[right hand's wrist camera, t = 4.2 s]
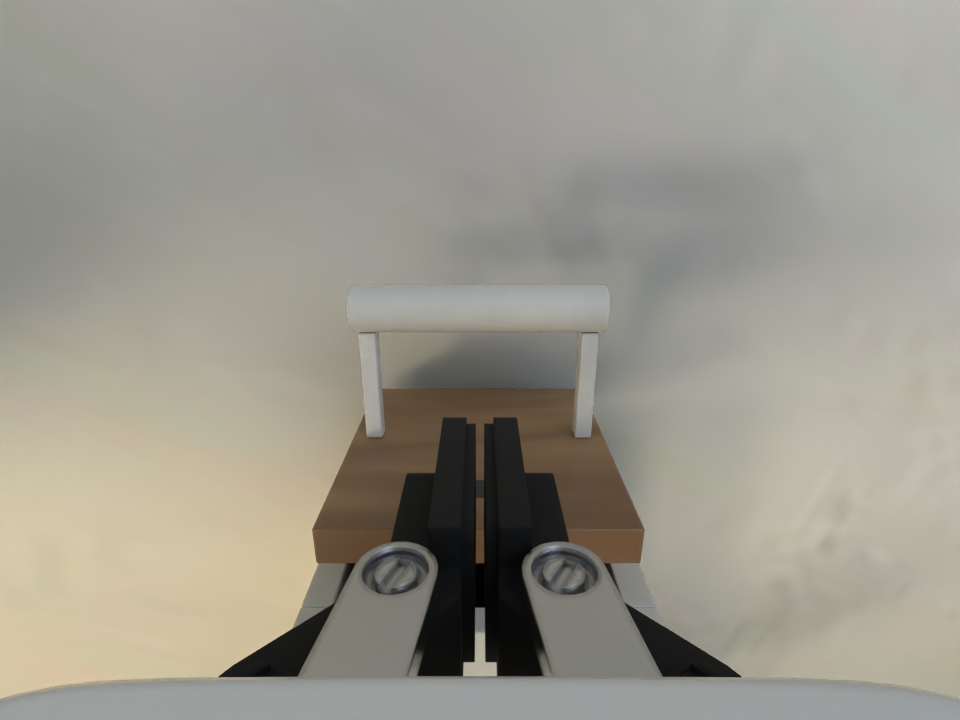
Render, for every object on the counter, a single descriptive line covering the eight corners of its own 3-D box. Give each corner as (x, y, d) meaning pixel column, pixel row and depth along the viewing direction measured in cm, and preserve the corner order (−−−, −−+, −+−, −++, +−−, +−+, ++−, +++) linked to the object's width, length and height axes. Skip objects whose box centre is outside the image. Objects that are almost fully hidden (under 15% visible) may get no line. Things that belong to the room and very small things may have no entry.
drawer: (366, 262, 22) (285, 335, 13) (591, 262, 22) (671, 335, 13) (395, 658, 30) (357, 880, 20) (562, 657, 30) (600, 880, 20)
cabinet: (370, 431, 26) (289, 633, 15) (587, 431, 26) (667, 633, 15) (391, 693, 32) (344, 973, 21) (567, 693, 32) (613, 973, 21)
